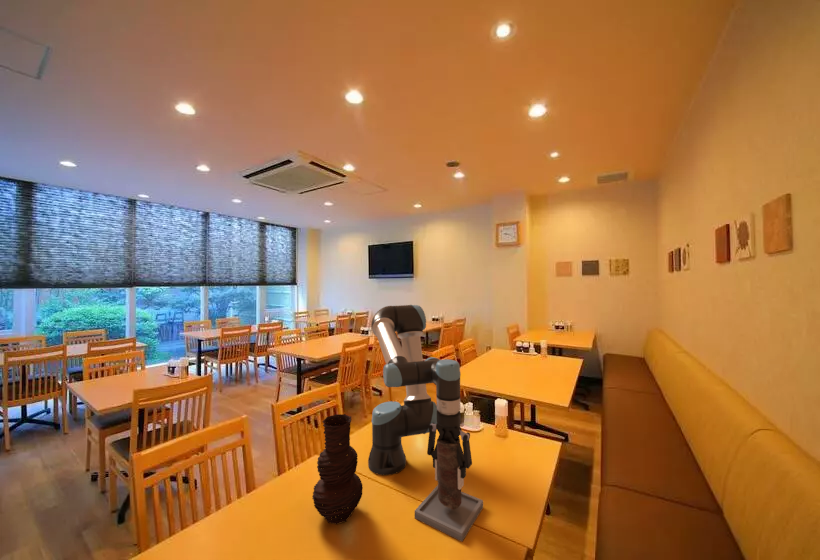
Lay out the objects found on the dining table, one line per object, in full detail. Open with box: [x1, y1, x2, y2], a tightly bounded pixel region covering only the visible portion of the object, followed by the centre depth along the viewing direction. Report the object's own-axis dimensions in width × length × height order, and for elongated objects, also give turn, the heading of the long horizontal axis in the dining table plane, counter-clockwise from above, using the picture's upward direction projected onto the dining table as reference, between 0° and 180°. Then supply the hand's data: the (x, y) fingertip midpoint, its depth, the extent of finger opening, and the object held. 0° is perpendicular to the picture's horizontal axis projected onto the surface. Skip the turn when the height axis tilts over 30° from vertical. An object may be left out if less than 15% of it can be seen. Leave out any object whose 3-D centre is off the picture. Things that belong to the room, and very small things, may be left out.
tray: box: [414, 484, 484, 542], centre depth 100 cm, size 16×16×2 cm
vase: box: [312, 413, 364, 525], centre depth 100 cm, size 15×15×30 cm
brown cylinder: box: [436, 438, 462, 509], centre depth 100 cm, size 8×7×20 cm
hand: (449, 482), depth 100 cm, fingers closed on brown cylinder, 7 cm apart
